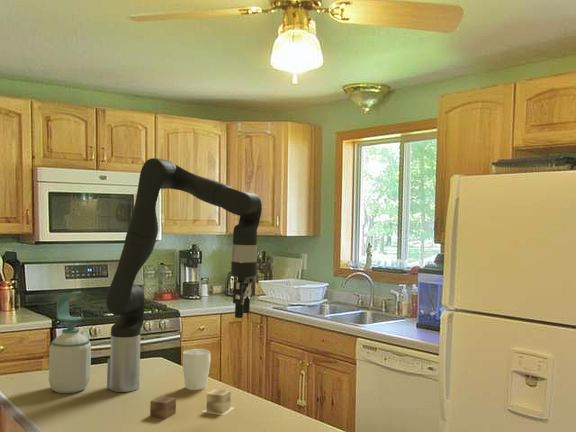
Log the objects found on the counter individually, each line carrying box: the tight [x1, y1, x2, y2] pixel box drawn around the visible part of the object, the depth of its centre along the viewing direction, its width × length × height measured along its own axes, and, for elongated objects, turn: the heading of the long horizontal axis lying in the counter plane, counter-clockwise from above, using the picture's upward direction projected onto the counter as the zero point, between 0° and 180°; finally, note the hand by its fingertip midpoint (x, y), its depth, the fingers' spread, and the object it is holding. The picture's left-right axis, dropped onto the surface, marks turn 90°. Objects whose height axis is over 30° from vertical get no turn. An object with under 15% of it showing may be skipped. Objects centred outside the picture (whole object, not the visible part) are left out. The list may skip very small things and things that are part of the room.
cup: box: [181, 348, 212, 391], centre depth 187 cm, size 9×9×12 cm
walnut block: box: [149, 395, 177, 420], centre depth 160 cm, size 5×5×5 cm
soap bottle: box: [48, 290, 92, 394], centre depth 183 cm, size 12×12×31 cm
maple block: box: [206, 388, 232, 414], centre depth 165 cm, size 5×5×5 cm
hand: (242, 315), depth 169 cm, fingers open, 8 cm apart
